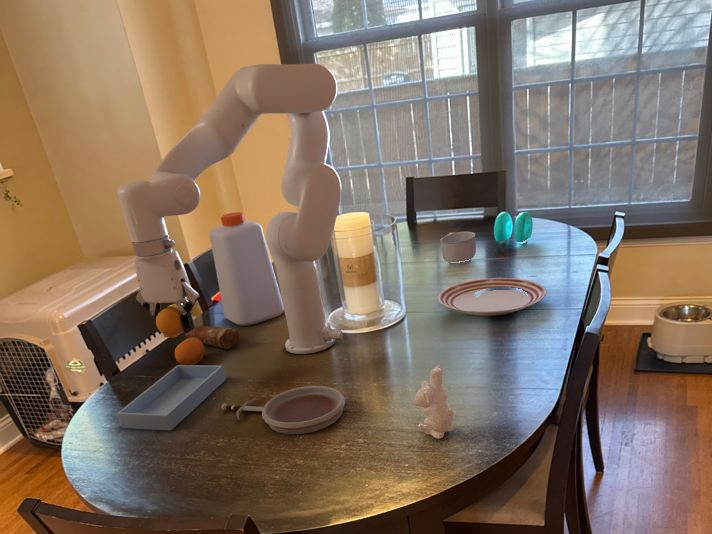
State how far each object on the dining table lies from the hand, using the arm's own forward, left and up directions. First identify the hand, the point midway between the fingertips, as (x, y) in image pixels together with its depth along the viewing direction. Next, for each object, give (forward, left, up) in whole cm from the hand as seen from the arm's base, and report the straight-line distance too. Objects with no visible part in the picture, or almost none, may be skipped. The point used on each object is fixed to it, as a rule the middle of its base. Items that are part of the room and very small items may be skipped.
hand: (176, 330), depth 147 cm
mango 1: (0, 0, -1) cm, 1 cm away
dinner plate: (-60, -51, -14) cm, 80 cm away
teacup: (-43, -92, -14) cm, 103 cm away
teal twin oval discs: (-58, -108, -14) cm, 124 cm away
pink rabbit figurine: (-61, +16, -14) cm, 65 cm away
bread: (+10, -25, -14) cm, 31 cm away
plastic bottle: (+7, -46, -14) cm, 49 cm away
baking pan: (0, +7, -14) cm, 16 cm away
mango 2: (+9, -14, -14) cm, 22 cm away
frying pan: (-27, +11, -14) cm, 33 cm away
